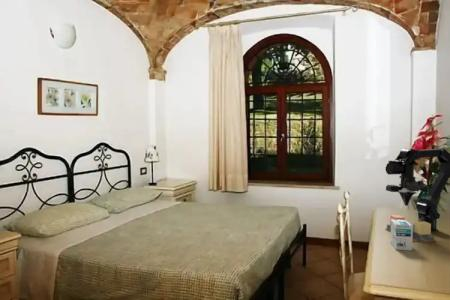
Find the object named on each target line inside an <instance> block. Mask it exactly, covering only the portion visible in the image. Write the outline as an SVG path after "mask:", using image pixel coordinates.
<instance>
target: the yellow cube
mask: <svg viewBox="0 0 450 300" xmlns="http://www.w3.org/2000/svg"><path fill="white" fill-rule="evenodd" d="M414 224H415V228H414V232H416V233H418V234H420V235H431V234H432V233H431V232H432V231H431V224H430V223H427V222H425V221H422V222H420V221H414Z"/></svg>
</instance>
